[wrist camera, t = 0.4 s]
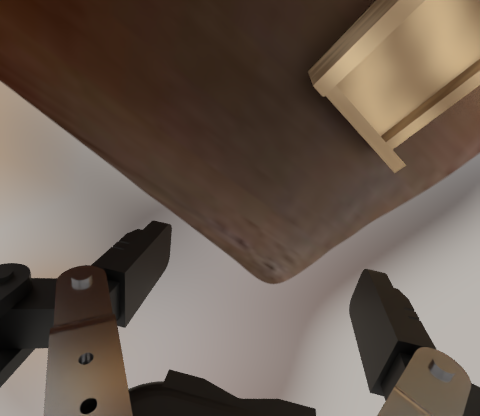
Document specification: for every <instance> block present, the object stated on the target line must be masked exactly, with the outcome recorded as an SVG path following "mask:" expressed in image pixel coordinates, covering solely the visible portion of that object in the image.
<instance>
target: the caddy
mask: <svg viewBox="0 0 480 416" xmlns="http://www.w3.org/2000/svg"><path fill="white" fill-rule="evenodd" d="M308 73H309V76H310V79H311V82H312V85H313V86H314V88H315V89H316V90H317V91H318V92H319V93H320V94H321V95H322V96H323V97H324V96H326V97H327V98H328V99H329V100H330V101H331V102H332V104H333V105H334V106H335V107H336V108H337V109H338V110H339V111H340V112H341V114H342V115H343V116H344V117H345V118H346V119H347V120H348V121H349V123H350V124H351V125H352V126H353V127H354V128H355V129H356V130H357V131H358V133H359V134H360V135H361V136H362V137H363V138H364V139H365V140H366V141H367V143H368V144H369V145H370V146H371V147H372V148H373V149H374V150H375V152H376V153H377V154H378V155H379V156H380V157H381V158H382V159H383V160H384V162H385V163H386V164H387V165H388V166H389V167H390V168H391V169H392V170H393V172H394V173H396V172H397V171H398V170H400V169H401V168H403V167H404V166H406V165H405V164H404V162H403V161H402V160H401V159H400V158H399V157H398V156H397V154H396V153H395V152H394V151H393V149H394V148H395V147H397V146H398V145H399V144H401V143H402V142H403V141H405V140H406V139H408V138H409V137H410V136H412V135H413V134H414V133H416V132H417V131H418V130H420V129H421V128H422V127H424V126H425V125H426V124H428V123H429V122H430V121H432V120H433V119H434V118H436V117H437V116H439V115H440V114H441V113H443V112H444V111H445V110H447V109H448V108H449V107H451V106H452V105H453V104H455V103H456V102H457V101H459V100H460V99H461V98H463V97H464V96H465V95H467V94H468V93H470V92H471V91H472V90H474V89H475V88H476V87H478V86H479V85H480V0H376V1H375V2H374V3H373V4H372V5H371V6H370V7H369V8H368V9H367V10H366V11H365V13H364V14H363V15H362V16H361V17H360V18H359V19H358V20H357V21H356V22H355V23H354V24H353V25H352V26H351V27H350V28H349V29H348V30H347V31H346V32H345V33H344V34H343V35H342V36H341V37H340V39H339V40H338V41H337V42H336V43H335V44H334V45H333V46H332V47H331V48H330V49H329V50H328V51H327V52H326V53H325V54H324V55H323V56H322V57H321V58H320V59H319V60H318V61H317V62H316V63H315V64H314V66H313V67H312V68H311V69H310V70H309V71H308Z"/></svg>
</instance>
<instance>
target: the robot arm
mask: <svg viewBox="0 0 480 416" xmlns="http://www.w3.org/2000/svg"><path fill="white" fill-rule="evenodd" d="M171 231H172V228H171V225H170V224H166V223H162V222H157V221H152V222H151V223H150V224H148V225H147V226H146V227H145V228H144V229H143V230H140V229H137V230H134V231H132V232H130V233H127V234H126V235H125V236H124V237H123V238H121V239H120V241H119V242H117V243H116V244H115V245H114V246H113V247H111V248H110V249H109V250H108V251H107V252H106V253H105V254H103V255H102V256H101V257H100V258H99V259H98V260H97V261H95V262H94V263H93V264H92V265H91V266H87V265H85V266H78V267H74V268H71V269H69V270H67V271H65V272H64V273H62V274H61V275H60V276H59V277H58V278H56V279H50V278H47V279H45V278H31V274H30V269H29V268H28V267H27V266H25V265H22V264H15V263H8V264H1V265H0V387H1V386H2V385H3V384H4V383H5V382H6V381H7V379H8V378H9V377H10V376H11V375H12V374H13V373H14V371H15V370H16V369H17V368H18V367H19V366H20V365H21V364H22V363H23V362H24V360H25V359H26V358H27V357H28V356H29V355H30V354H31V353H32V352H33V350H34V349H35V348H48V360H47V375H46V389H45V404H44V416H316V410H315V409H314V408H310V407H306V406H303V405H299V404H295V403H292V402H288V401H284V400H281V399H240V398H237V397H235V396H233V395H231V394H230V393H228V392H226V391H224V390H223V389H221V388H219V387H217V386H215V385H214V384H212V383H210V382H209V381H207V380H205V379H203V378H199V377H195V376H192V375H188V374H184V373H180V372H177V371H173V370H169V371H168V374H167V376H166V378H165V381H164V382H151V383H146V384H142V385H138V386H136V387H133V388H130V389H128V385H127V380H126V374H125V368H124V362H123V357H122V351H121V345H120V339H119V334H118V327H117V326H121V327H126V326H127V324H128V323H129V322H130V320H131V318H132V317H133V316H134V314H135V313H136V311H137V310H138V308H139V307H140V306H141V304H142V303H143V301H144V300H145V298H146V297H147V295H148V294H149V293H150V291H151V290H152V288H153V287H154V285H155V284H156V282H157V281H158V280H159V278H160V277H161V275H162V274H163V272H164V271H165V269H166V267H167V265H168V262H169V257H170V245H171ZM349 312H350V318H351V322H352V325H353V329H354V333H355V337H356V340H357V344H358V348H359V352H360V356H361V360H362V364H363V367H364V371H365V375H366V379H367V383H368V387H369V390H370V393H374V394H377V395H381V396H384V397H385V400H386V402H385V404H384V405H383V407H382V409H381V410H380V412H379V414H378V416H480V387H478V386H476V385H474V384H472V383H471V381H470V379H469V376H468V375H467V373H466V372H465V370H464V369H463V368H462V367H461V366H460V365H459V364H458V363H457V362H455V360H453V359H452V358H451V357H449V356H448V355H446V354H444V353H443V352H440V351H438V350H436V348H435V346H434V344H433V343H432V341H431V339H430V337H429V335H428V334H427V332H426V330H425V328H424V326H423V325H422V323H421V321H419V317H418V316H417V314H416V312H414V309H413V307H412V305H411V303H410V301H409V299H408V298H407V297H406V296H405V295H403V294H402V293H401V292H400V291H399V290H398V289H396V288H393V286H392V284H391V282H390V280H389V278H388V276H387V274H385V273H382V272H377V271H373V270H368V269H364V270H363V272H362V274H361V276H360V278H359V281H358V283H357V286H356V288H355V291H354V293H353V295H352V298H351V301H350V308H349Z"/></svg>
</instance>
